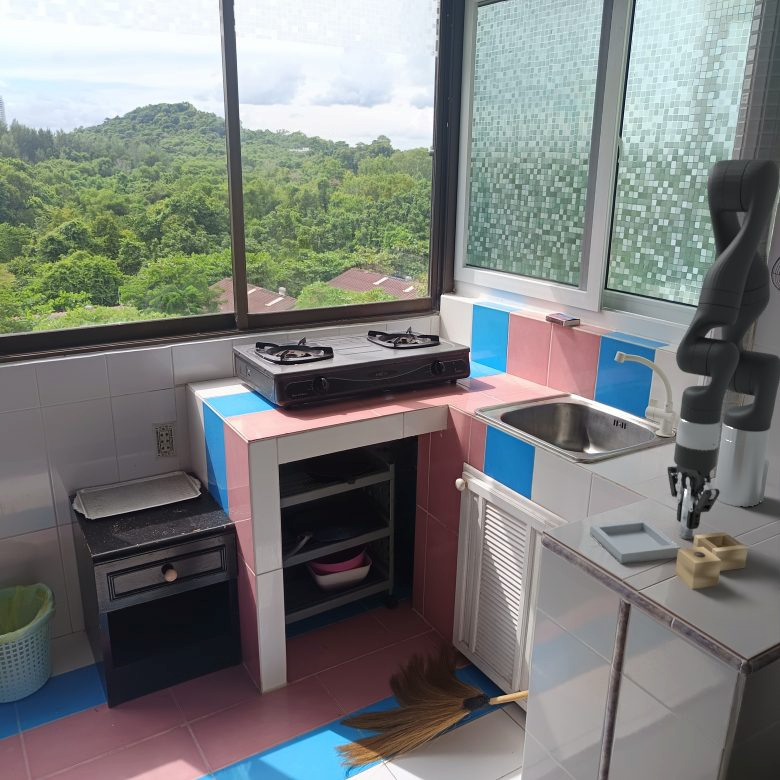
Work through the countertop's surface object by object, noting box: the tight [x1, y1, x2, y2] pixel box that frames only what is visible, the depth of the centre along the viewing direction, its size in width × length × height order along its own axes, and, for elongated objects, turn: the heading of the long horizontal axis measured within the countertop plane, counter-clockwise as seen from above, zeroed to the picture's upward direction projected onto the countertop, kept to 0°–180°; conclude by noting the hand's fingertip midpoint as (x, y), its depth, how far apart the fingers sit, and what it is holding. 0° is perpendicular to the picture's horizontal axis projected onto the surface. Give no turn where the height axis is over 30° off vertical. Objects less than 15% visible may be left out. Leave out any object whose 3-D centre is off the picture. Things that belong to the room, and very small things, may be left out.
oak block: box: [692, 531, 749, 572], centre depth 136 cm, size 6×6×4 cm
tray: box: [589, 519, 682, 565], centre depth 142 cm, size 12×12×2 cm
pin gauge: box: [678, 488, 698, 540], centre depth 144 cm, size 3×3×10 cm
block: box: [674, 547, 721, 590], centre depth 129 cm, size 5×5×5 cm
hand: (687, 524), depth 145 cm, fingers closed on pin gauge, 2 cm apart
